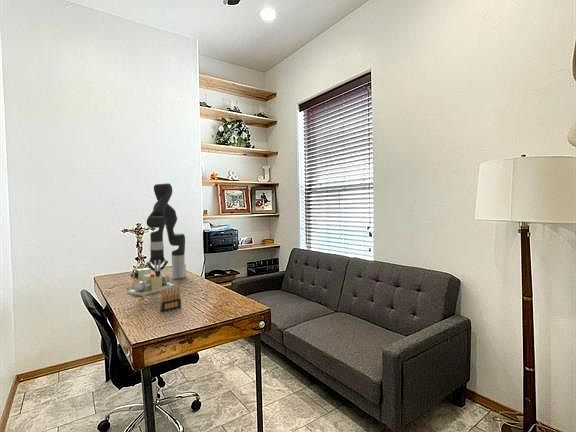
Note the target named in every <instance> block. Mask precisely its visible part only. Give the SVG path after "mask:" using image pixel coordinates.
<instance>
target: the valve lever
mask: <svg viewBox="0 0 576 432" xmlns="http://www.w3.org/2000/svg"><path fill="white" fill-rule="evenodd" d="M152 277H155V271H154V270H150V278H152Z"/></svg>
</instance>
